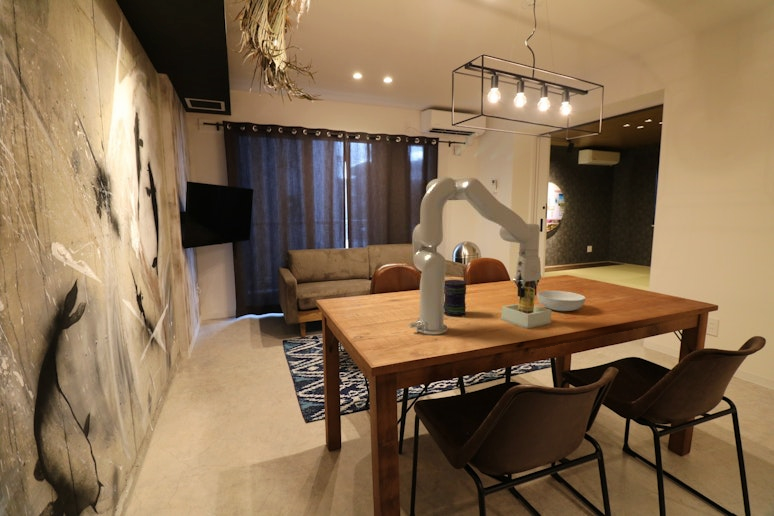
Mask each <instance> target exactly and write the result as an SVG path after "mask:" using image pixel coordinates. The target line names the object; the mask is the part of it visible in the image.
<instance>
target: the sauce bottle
mask: <svg viewBox="0 0 774 516" xmlns="http://www.w3.org/2000/svg"><path fill="white" fill-rule="evenodd" d="M521 284H522V282H521ZM535 286H536V283H535V281H530V282H525V285H524V288H525V297H519V296H518V303H517V304H518V311H520V312H523V313H526V314H530V313H533V310H534V305H535V299H536V295H535Z"/></svg>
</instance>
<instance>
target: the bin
mask: <svg viewBox="0 0 774 516" xmlns="http://www.w3.org/2000/svg"><path fill="white" fill-rule="evenodd" d="M552 311H553V310H552V309H550V308H547V307H543V306H542V307H541V306H539V305H535V304H534V310H533V313H530V314H526V313H523V312H520V311H518V303H515V304H509V305H504V306H501V318H500V319H501V321H504V322H507V323H509V324H512V325H515V326H518V327H521V328H523V327H524V329H526V328H527V329H526V330H529V329H532V328H533V327H534V328H537V326H538V327H543V326H545V325H546V324H547V325H550V324H552Z"/></svg>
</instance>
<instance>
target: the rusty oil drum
mask: <svg viewBox="0 0 774 516" xmlns="http://www.w3.org/2000/svg"><path fill="white" fill-rule="evenodd" d="M466 294H467V281H465V280H463V279H462V280H460V279H447V280H444V316H446V317H451V318H461V317H465V316H466V310H467V308H466V305H467V304H466Z"/></svg>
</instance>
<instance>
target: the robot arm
mask: <svg viewBox="0 0 774 516" xmlns="http://www.w3.org/2000/svg"><path fill="white" fill-rule="evenodd" d="M425 191H426V192H425V194H424V196H423V198H422V200H421V203H420V210H419V212H420V213H419V215H420V216H419V217H420V218H419V223H418V224H417V225H416V226H415V227H414V228H413V231H412V242H411V243H412V260H413V264H414V267H415V268H416V269H417V270H419V271H420V272H421V275H420V280H419V318H417V320H416V321H415V322H409V324H408V326H409V328H410V329H411V328H413V329H414V328H415V330H416V331H417V332H418V333H420V334H424V335H432V336H433V335H441V334H442V335H443V334H445V333H447V332H448V326H447V325H446V324H444V321H445V319H444V318H445V314H444V302H445V294H444V285H445V284H444V282H445V281H446V279H445V278H446V272H447V261H446V258H445V257H444V256H443V254H441V253H440V252H438V251H436V248H437V247H439V246H440V245H441V244H442V242H443V238H444V229H443V225H444V224H443V223H444V222H443V216H444V215H443V213H444V208H445V204H446V203H447V202H448V201H466V202H468V203H469V205H471V206H472V208H474V210H475V211H476V212H477V213H478V214H479V215H480V216H481V217H482V218H484V219H486V220H488V221H490V222H492V223H495V224H498V225H499V226H500V227H501V228H500V229H499V236H500V238H501V239H502V240H503V241H506V242H510V243H515V244H519V246H518V247H519V248H518V250H519V251H518V258H517V263H516V271H515V272H516V274H515V276H514V278H513V282H514V283H515V285H516V287H517V297H518V298H519V297H525V288H524V285H525V282H530V281H535V283H536V286H535V296H537V287H538V286H539V283H540V280H541V279H542V277H543V276H542V275H541V274H542V273H541V272H542V270H541V269H542V268H541V258H540V256H539V253H540V252H539V251H540V230H541V229H540V225H539V224H537V223H527V222H525V220H524V219H523V218H522V217H521V216H520V215H519V214H518V213H517V212H515V210H512V209H511V208H509V207H508V206H506V205H505V204H503V203H502V202H500V201H499V200H498V199H497V198H496V197H495V196H494V195H493V194H492V192H491V191H490V190H489V189H488V188H487V187H486V186H485V185H484V184H483V183H482V182H481V181H480V180H479V179H478V178H476V177H467V178H459V179H458V178H457V179H454V178H452V177H450V176H449V177H448V176H443V177H438V178H435V179H432V180H430V181H429V182H428V184H427V185H426V189H425ZM521 282H522V284H521Z"/></svg>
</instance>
